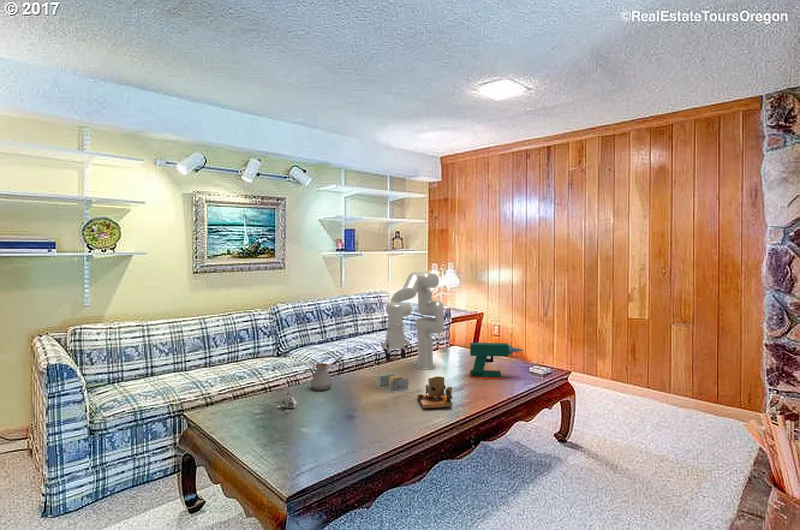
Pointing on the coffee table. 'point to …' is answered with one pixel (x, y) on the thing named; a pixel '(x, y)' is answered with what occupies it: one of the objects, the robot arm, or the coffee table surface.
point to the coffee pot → (322, 376)
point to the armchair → (436, 394)
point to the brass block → (394, 379)
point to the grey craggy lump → (289, 401)
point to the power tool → (481, 354)
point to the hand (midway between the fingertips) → (395, 359)
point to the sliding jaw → (384, 378)
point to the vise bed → (386, 386)
